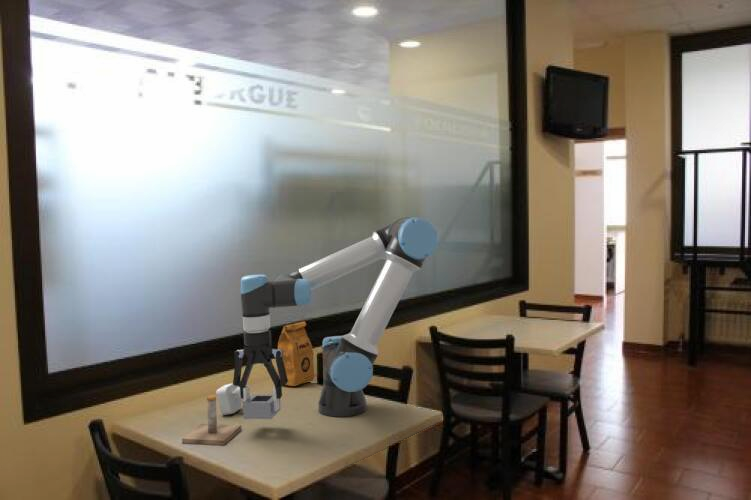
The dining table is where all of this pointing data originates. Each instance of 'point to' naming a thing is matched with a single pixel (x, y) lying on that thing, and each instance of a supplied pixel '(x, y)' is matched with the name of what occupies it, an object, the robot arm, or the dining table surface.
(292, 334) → the coffee package
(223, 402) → the wall hook
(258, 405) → the link
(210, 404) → the keeper
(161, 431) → the dining table surface
